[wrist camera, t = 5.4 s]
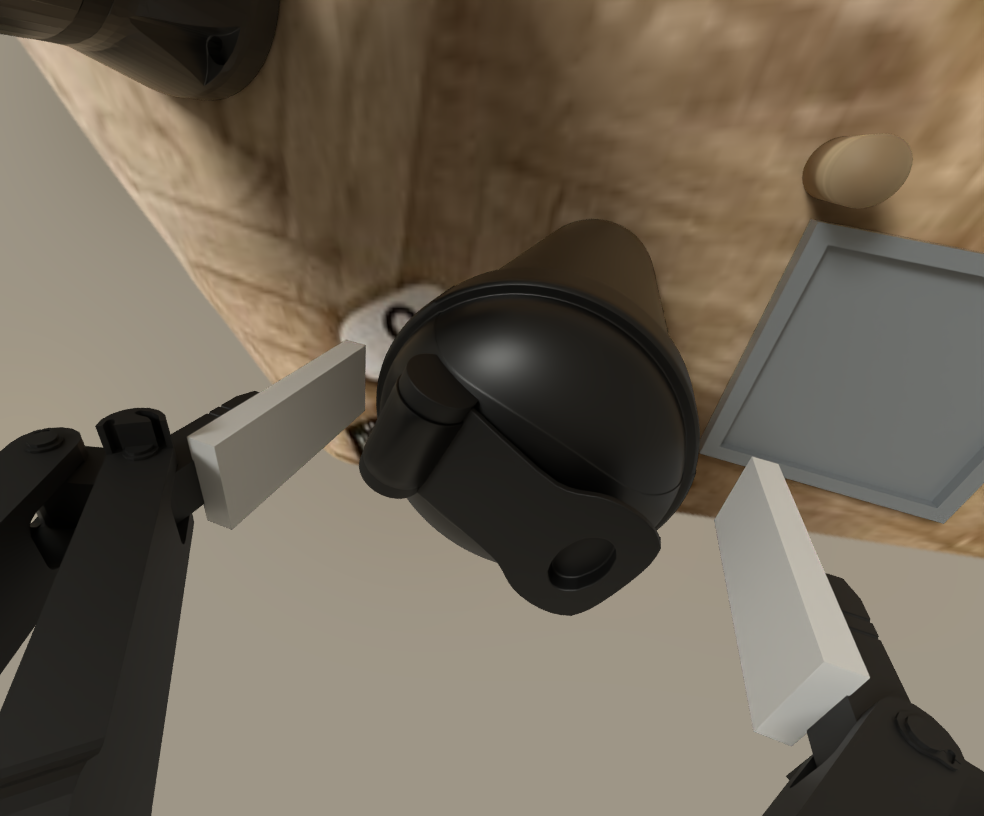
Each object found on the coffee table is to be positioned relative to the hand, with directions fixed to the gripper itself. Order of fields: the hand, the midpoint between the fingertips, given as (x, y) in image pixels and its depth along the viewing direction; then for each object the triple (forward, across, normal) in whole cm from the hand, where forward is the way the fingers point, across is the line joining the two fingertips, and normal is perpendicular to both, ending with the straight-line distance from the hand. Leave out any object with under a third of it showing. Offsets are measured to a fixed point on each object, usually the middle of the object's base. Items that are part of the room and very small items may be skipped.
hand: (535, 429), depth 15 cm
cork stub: (+18, +11, +9) cm, 23 cm away
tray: (+19, +19, -1) cm, 26 cm away
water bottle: (+19, 0, 0) cm, 19 cm away
